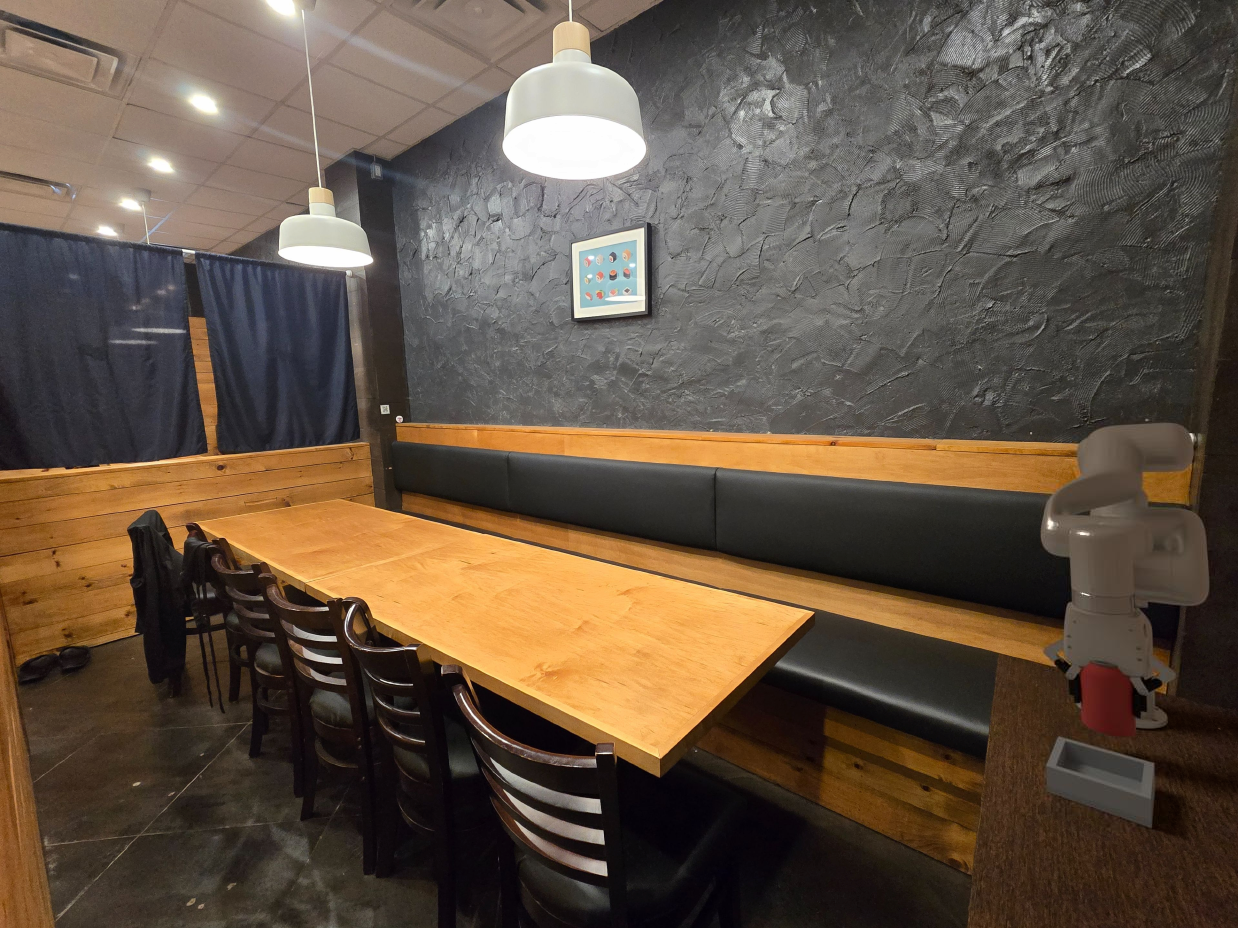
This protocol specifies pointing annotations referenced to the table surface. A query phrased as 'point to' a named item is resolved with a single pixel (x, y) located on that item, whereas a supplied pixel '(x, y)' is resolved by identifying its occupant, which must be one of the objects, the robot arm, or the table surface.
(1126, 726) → the beer can
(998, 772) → the table surface
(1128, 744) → the table surface
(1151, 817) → the tray
